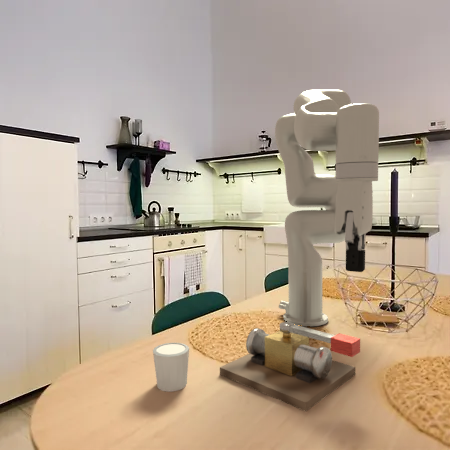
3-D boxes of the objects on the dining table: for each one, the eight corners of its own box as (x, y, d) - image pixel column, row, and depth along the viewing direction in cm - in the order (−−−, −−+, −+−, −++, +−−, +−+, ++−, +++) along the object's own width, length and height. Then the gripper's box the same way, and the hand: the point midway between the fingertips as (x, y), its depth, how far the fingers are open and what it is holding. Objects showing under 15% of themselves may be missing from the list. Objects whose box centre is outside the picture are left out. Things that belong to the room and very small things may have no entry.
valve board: (219, 374, 77) (219, 366, 77) (274, 348, 90) (273, 341, 90) (305, 411, 63) (305, 401, 63) (355, 374, 76) (355, 366, 76)
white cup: (195, 378, 76) (194, 344, 75) (180, 395, 69) (179, 357, 69) (164, 374, 78) (163, 340, 77) (147, 390, 71) (145, 353, 71)
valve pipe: (245, 360, 80) (245, 325, 80) (263, 351, 84) (263, 318, 84) (315, 386, 69) (315, 345, 68) (332, 374, 73) (332, 336, 72)
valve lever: (285, 331, 78) (285, 319, 78) (360, 352, 67) (360, 338, 67) (276, 335, 76) (276, 323, 76) (352, 357, 65) (352, 343, 65)
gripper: (346, 175, 80) (345, 262, 81) (324, 173, 67) (323, 276, 69) (385, 174, 76) (383, 265, 77) (368, 171, 63) (367, 281, 65)
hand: (355, 270), depth 73 cm, fingers closed
